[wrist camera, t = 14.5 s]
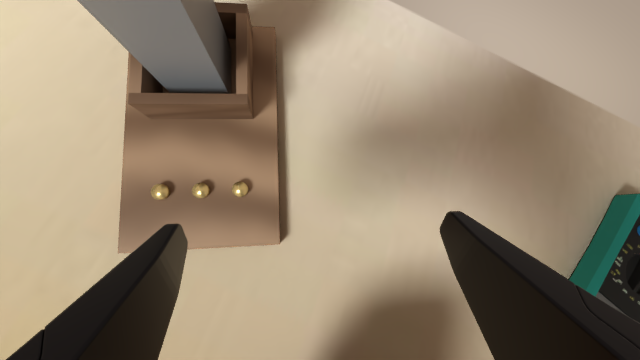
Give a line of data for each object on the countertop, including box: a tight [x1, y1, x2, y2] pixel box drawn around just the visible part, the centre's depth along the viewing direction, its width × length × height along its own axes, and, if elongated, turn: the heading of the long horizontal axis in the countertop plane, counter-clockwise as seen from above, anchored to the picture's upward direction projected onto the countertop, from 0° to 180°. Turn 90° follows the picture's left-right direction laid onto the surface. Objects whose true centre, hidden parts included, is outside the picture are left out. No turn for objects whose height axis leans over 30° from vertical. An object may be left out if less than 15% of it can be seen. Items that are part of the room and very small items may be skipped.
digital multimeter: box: [569, 194, 640, 323], centre depth 24 cm, size 7×15×3 cm, turn 140°
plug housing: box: [78, 0, 231, 94], centre depth 15 cm, size 4×4×13 cm
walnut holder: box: [118, 2, 280, 253], centre depth 20 cm, size 19×12×4 cm, turn 2°
